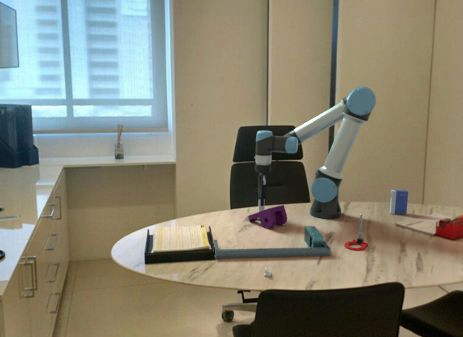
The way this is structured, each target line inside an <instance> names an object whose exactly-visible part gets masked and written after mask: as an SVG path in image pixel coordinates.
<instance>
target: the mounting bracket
mask: <svg viewBox="0 0 463 337" xmlns="http://www.w3.org/2000/svg"><path fill="white" fill-rule="evenodd" d="M247 218H248V220H249V221H254V220H257V219H259V221H260V224H261V226H262V227H263V228H265V229H268V230H269V229H272V228H275V227H276V226H279V227H281V226H284V225H285V224H286V223H287V222H288V221H287V220H288V214H287V211H286V209H285V205H284V204H281V205H277V206H273V207H270V208H266V209H264V210H263V211H260V212H258V211H257V212H255V213H252V214H248V215H247Z"/></svg>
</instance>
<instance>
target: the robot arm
mask: <svg viewBox="0 0 463 337" xmlns="http://www.w3.org/2000/svg"><path fill="white" fill-rule="evenodd" d="M376 103H377V97H376V94H375V92H374V91H373V90H372V89H371V88H369V87H367V86H357V87H355V88H353V89H352V90H351V91H350V92H349V93H348V94H347V95H346V96H344V97H342V99H341V100H340V102H339V103H337V104H335V105H334V106H332V107H330V108H329V109H327V110H325V111H324V112H322V113H320V114H318V115H316V116H315V117H313V118H312V119H310V120H308V121H307V122H305V123H303V124H301V125H299V126H297V127H296V128H294V129H293V130H291V131H288V132H286V134H284V135H283V136H282V135H281V136H279V135H274V134H273V131H271V130H258V131H257V132H256V136H255V137H256V138H255V156H253V157H254V159H255V162H254V163H255V164H254V172H256V173H258V175H257V180H258V181H257V184H258V185H257V186H258V187H257V192H258V193H257V196H258V197H257V199H258V206H257V207H258V208H257V212H260V211H263V210H265V204H266V199H267V197H266V196H267V189H268V187H267V186H268V176H267V174H269V173H271V171H272V165H271V164H272V152H273V153H283V154H296V153H297V152H298V148H299V145H301V144H302V143H304V142H306V141H308V140H309V139H310V140H311V138H313V137H315V136H316V135H318V134H320V133H322V132H324V131H325V130H327V129H329V128H330V127H332V126H334V125H336V124H338V123H340V122H341V123H340V125H339V127H338V130H337V133H336V135H335V137H334V140H333V142H332V145H331V147H330V150H329V152H328V155H327V157H326V159H325V161H324V164H323V165H322V166H321V167H318V168H316V169H315V172H314V176H315V177H314V178H313V181H312V182H311V185H310V193H311V195H312V197H313V201H312V204H311V206H310V208H309V209H310V210H309V215H310V216H312V217H314V218H315V217H316V218H321V219H337V218H340V217H341V216H342V209H341V203H340V201H339V197H340V196H339V195H340V194H339V193H340V186H341V185H342V184H341V183H342V182H343V179H344V177H343V174H342V173H343V170H344V168H345V165H346V163H347V161H348V159H349V157H350V154H351V152H352V150H353V147H354V144H355V142H356V140H357V137H358V135H359V133H360V131H361V128H362V126H363V124H366V123H368V121H369V119H370V116H371V114H372V112H373V110H374V108H375V107H376Z"/></svg>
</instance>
